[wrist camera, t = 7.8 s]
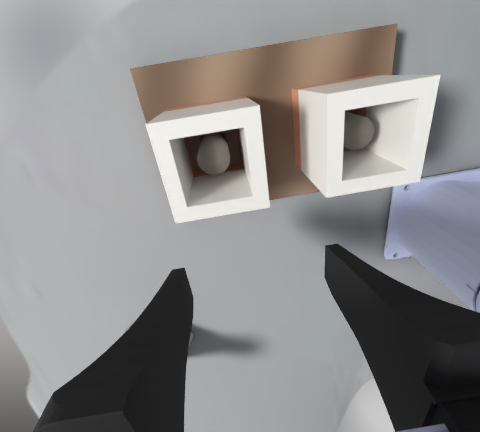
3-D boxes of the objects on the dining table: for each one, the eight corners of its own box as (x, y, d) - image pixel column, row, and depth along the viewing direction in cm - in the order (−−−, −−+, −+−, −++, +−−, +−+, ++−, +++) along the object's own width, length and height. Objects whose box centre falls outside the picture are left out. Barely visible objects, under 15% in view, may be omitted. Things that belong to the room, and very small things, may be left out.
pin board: (383, 27, 17) (451, 8, 12) (369, 174, 22) (414, 202, 17) (136, 69, 17) (105, 66, 12) (177, 207, 22) (166, 246, 17)
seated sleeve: (369, 75, 17) (440, 74, 11) (363, 152, 19) (420, 181, 14) (291, 88, 17) (327, 94, 11) (295, 164, 19) (326, 197, 14)
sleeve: (245, 95, 17) (259, 105, 11) (254, 171, 19) (270, 207, 14) (167, 109, 17) (145, 124, 11) (186, 182, 19) (175, 223, 14)
